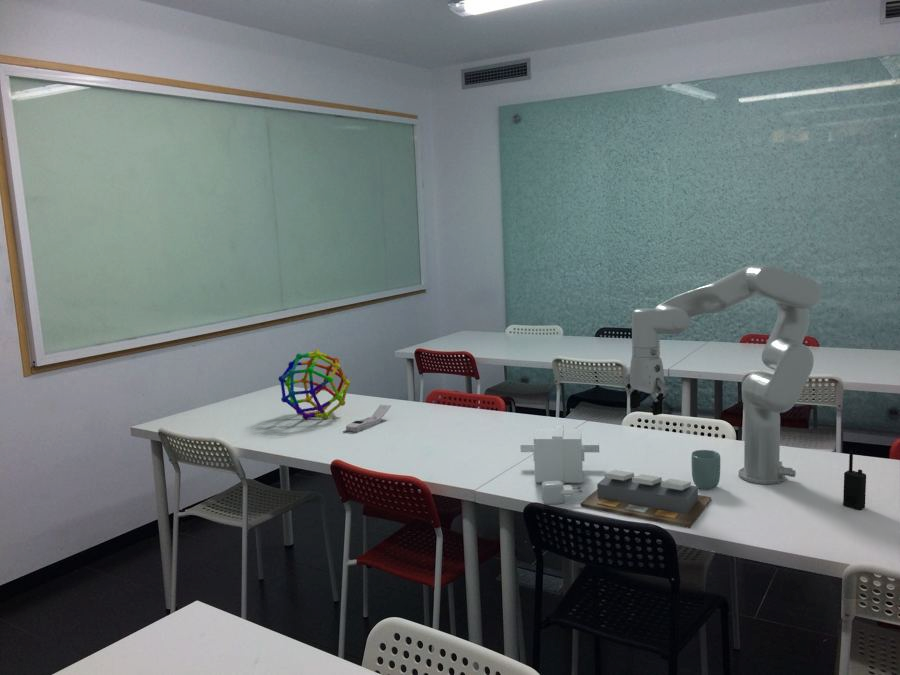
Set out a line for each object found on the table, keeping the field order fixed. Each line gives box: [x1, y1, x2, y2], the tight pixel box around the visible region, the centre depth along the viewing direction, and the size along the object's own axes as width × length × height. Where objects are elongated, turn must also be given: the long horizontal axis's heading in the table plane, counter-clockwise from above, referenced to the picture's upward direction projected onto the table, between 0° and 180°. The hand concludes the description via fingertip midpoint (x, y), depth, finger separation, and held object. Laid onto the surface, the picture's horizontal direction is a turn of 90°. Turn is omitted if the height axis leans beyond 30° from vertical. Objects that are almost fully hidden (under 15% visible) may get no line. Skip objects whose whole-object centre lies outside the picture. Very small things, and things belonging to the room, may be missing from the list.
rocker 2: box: [632, 473, 663, 485], centre depth 197 cm, size 6×8×1 cm
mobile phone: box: [342, 404, 392, 433], centre depth 290 cm, size 6×6×25 cm
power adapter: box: [541, 481, 584, 505], centre depth 201 cm, size 11×5×6 cm, turn 90°
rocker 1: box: [603, 469, 635, 481], centre depth 201 cm, size 6×8×1 cm
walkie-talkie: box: [842, 450, 867, 511], centre depth 186 cm, size 5×3×15 cm
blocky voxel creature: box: [520, 425, 600, 485], centre depth 226 cm, size 15×25×28 cm
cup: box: [691, 449, 721, 491], centre depth 205 cm, size 8×8×10 cm
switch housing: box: [596, 475, 699, 514], centre depth 197 cm, size 25×10×5 cm, turn 55°
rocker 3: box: [661, 478, 692, 490], centre depth 192 cm, size 6×8×1 cm
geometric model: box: [278, 349, 351, 420], centre depth 304 cm, size 30×30×30 cm
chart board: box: [579, 489, 713, 529], centre depth 197 cm, size 30×20×1 cm, turn 55°
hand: (646, 410), depth 205 cm, fingers open, 9 cm apart
